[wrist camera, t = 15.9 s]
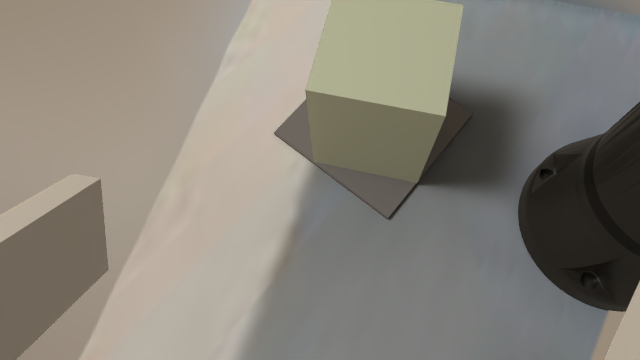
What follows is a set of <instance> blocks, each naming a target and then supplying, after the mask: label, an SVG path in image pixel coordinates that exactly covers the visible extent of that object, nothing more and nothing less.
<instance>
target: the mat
mask: <svg viewBox="0 0 640 360" xmlns="http://www.w3.org/2000/svg"><path fill="white" fill-rule="evenodd" d="M472 114H473V113H472V112H470V111H468V110H467V109H465V108H464V107H462V106H461V105H459V104H457V103H456V102H454V101H453V100H451V99H450V98H449V99H448V105H447V111H446V117H445V119H444V121H443V124H442V126H441V128H440V131H439V133H438V135H437V138H436V140H435V143H434V145H433V147H432V150H431V152H430V154H429V157H428V159H427V161H426V164H425V166H424V169H423V171H422V173H421V176H420V178H419V180H420V179H421V177H422V176H423V175H424V174H425V173H426V171H427V170H428V169H429V168H430V166H431V165H432V164H433V163H434V161H435V160H436V159H437V158H438V157H439V155H440V154H441V153H442V152H443V150H444V149H445V148H446V147H447V145H448V144H449V143H450V142H451V140H452V139H453V138H454V137H455V136H456V134H457V133H458V132H459V131H460V129H461V128H462V127H463V126H464V124H465V123H466V122H467V121H468V120H469V118H470V117H471V116H472ZM274 134H275V135H276V136H277V137H279V138H280V139H281V140H283V141H284V142H285V143H287V144H288V145H289V146H291V147H292V148H293V149H295V150H296V151H297V152H299V153H300V154H301V155H303V156H304V157H305V158H307V159H308V160H309V161H311V162H312V163H313V164H315V165H316V166H317V167H319V168H320V169H321V170H323V171H324V172H325V173H327V174H328V175H329V176H331V177H332V178H333V179H335V180H336V181H337V182H339V183H340V184H341V185H343V186H344V187H345V188H347V189H348V190H349V191H350V192H352V193H353V194H354V195H356V196H357V197H358V198H360V199H361V200H362V201H364V202H365V203H366V204H368V205H369V206H370V207H372V208H373V209H374V210H376V211H377V212H378V213H380V214H381V215H382V216H384V217H385V218H386V219H388V218H389V217H390V216H391V215H392V213H393V212H394V211H395V210H396V208H397V207H398V206H399V205H400V203H401V202H402V201H403V200H404V198H405V197H406V196H407V195H408V194H409V192H410V191H411V190H412V189H413V187H414V186H415V185H416V184H417V183H414V182H409V181H405V180H400V179H395V178H390V177H385V176H380V175H375V174H370V173H366V172H361V171H356V170H351V169H346V168H341V167H336V166H332V165H327V164H322V163H317V162H314V160H313V152H312V143H311V134H310V126H309V117H308V108H307V100H305V101H304V102H303V103H302V104H301V105H300V106H299V107H298V108H297V109H296V110H295V111H294V112H293V113H292V115H291V116H290V117H289V118H288V119H287V120H286V121H285V122H284V123H283V124H282V125H281V126H280V127H279V128H278V129H277V130H276V131H275V132H274ZM419 180H418V181H419Z"/></svg>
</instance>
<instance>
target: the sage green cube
mask: <svg viewBox="0 0 640 360" xmlns="http://www.w3.org/2000/svg"><path fill="white" fill-rule="evenodd" d="M462 11H463V5H461V4H454V3H448V2H442V1H435V0H332V1H331V5H330V8H329V12H328V15H327V18H326V22H325V25H324V28H323V32H322V35H321V39H320V42H319V45H318V49H317V52H316V56H315V59H314V62H313V66H312V69H311V73H310V76H309V79H308V83H307V86H306V90H305V91H306V100H307V108H308V117H309V126H310V134H311V143H312V152H313V160H314V162H317V163H322V164H327V165H332V166H336V167H341V168H346V169H351V170H356V171H361V172H366V173H370V174H375V175H380V176H385V177H390V178H395V179H400V180H405V181H409V182H414V183H418V180H419V178H420V176H421V173H422V171H423V169H424V166H425V164H426V161H427V159H428V157H429V154H430V152H431V150H432V147H433V145H434V143H435V140H436V138H437V135H438V133H439V131H440V128H441V126H442V124H443V121H444V119H445V117H446V111H447V105H448V99H449V92H450V86H451V80H452V74H453V67H454V61H455V55H456V49H457V43H458V36H459V30H460V24H461V18H462Z"/></svg>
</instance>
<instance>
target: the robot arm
mask: <svg viewBox="0 0 640 360" xmlns="http://www.w3.org/2000/svg"><path fill="white" fill-rule="evenodd" d="M518 218H519V226H520V231H521V235H522V238H523V241H524V243H525V246H526V248H527V250H528V252H529V254H530V255H531V257H532V259H533V260H534V262H535V263H536V265H537V266H538V267H539V269H540V270H541V271H542V272H543V273H544V274H545V276H546V277H547V278H548V279H549V280H551V281H552V282H553V283H554V284H555V285H556V286H557V287H559V288H560V289H561V290H563V291H564V292H566V293H567V294H569V295H570V296H572V297H574V298H576V299H578V300H580V301H582V302H584V303H586V304H589V305H592V306H595V307H598V308H602V309H606V310H612V311H626V312H625V315H624V317H623V319H622V321H621V323H620V326H619V328H618V330H617V332H616V334H615V337H614V339H613V341H612V343H611V346H610V348H609V350H608V352H607V355H606V357H605V359H604V360H640V102H639V103H638V104H637V105H636V106H635V107H633V108H632V109H631V110H630V111H629V112H628V113H627V114H626V115H625V116H623V117H622V118H621V119H620V120H619V121H618V122H617V123H616V124H614V125H613V126H612V127H611V128H610V129H609V130H608V131H607V132H606V133H604V134H601V135H597V136H594V137H591V138H587V139H584V140H581V141H577V142H574V143H571V144H568V145H566V146H564V147H562V148H560V149H558V150H557V151H555V152H554V153H552V154H551V155H549V156H548V157H547V158H546V159H545V160H544V161H543V162H542V163H541V164H540V165H539V166H538V167H537V168H536V169H535V170H534V171H533V172H532V173H531V175H530V176H529V178H528V179H527V181H526V183H525V185H524V187H523V189H522V192H521V196H520V200H519V208H518ZM107 270H108V260H107V248H106V237H105V226H104V214H103V202H102V191H101V180H100V178H95V177H89V176H83V175H76V174H71V175H69V176H68V177H66V178H64V179H62V180H61V181H59V182H57V183H55V184H53V185H52V186H50V187H48V188H47V189H45V190H43V191H41V192H40V193H38V194H36V195H34V196H32V197H31V198H29V199H27V200H25V201H24V202H22V203H20V204H19V205H17V206H15V207H14V208H11V209H10V210H8V211H6V212H4V213H3V214H1V215H0V360H16V359H17V358H18V357H19V356H20V355H21V354H22V353H23V352H24V351H25V350H26V349H27V348H28V347H29V346H31V345H32V344H33V343H34V342H35V341H36V340H37V339H38V338H39V337H40V336H41V335H42V334H43V333H44V332H45V331H46V330H47V329H48V328H49V327H50V326H51V325H52V324H53V323H54V322H55V321H56V320H57V319H58V318H59V317H60V316H61V315H62V314H63V313H64V312H65V311H66V310H67V309H68V308H70V306H72V304H74V303H75V302H76V301H77V300H78V299H79V298H80V297H81V296H82V295H83V294H84V293H85V292H86V291H87V290H88V289H89V288H90V287H91V286H92V285H93V284H94V283H95V282H96V281H97V280H98V279H99V278H100V277H101V276H102V275H103V274H104V273H105V272H106V271H107Z"/></svg>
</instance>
